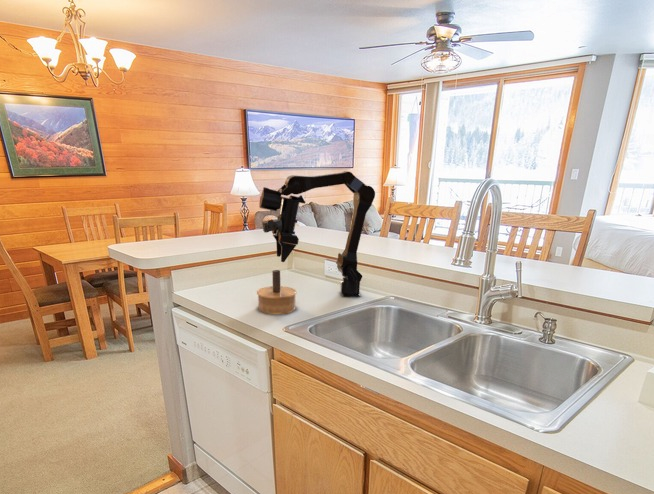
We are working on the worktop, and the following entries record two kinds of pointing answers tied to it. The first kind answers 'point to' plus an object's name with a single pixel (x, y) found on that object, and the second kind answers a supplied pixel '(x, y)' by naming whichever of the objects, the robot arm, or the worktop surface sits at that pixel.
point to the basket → (276, 305)
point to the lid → (276, 289)
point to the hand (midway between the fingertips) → (280, 259)
